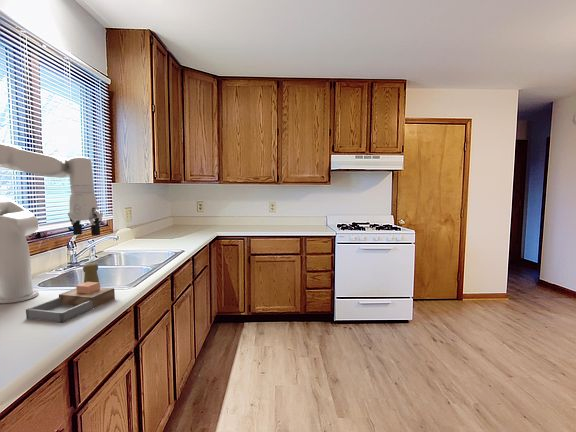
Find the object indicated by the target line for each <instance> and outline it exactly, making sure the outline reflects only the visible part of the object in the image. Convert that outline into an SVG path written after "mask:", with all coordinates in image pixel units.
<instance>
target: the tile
mask: <svg viewBox="0 0 576 432" xmlns="http://www.w3.org/2000/svg"><path fill="white" fill-rule="evenodd" d="M99 283H100V281H99V282H86V283H84V282H82V283H81V284H78V285H76V286H75V289H76V290H77V293H87V294H89V293H91V292H94V291H96V290H99V289H100V287H101V285H100V286H99Z"/></svg>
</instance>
